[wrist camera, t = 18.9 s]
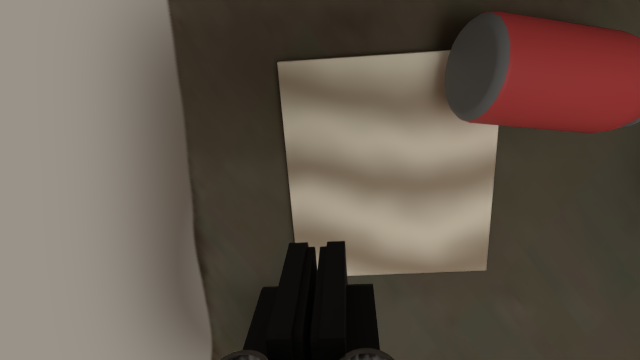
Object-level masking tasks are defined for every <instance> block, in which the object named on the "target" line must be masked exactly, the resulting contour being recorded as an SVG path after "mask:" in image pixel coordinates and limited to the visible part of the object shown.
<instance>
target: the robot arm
mask: <svg viewBox="0 0 640 360" xmlns="http://www.w3.org/2000/svg"><path fill="white" fill-rule="evenodd" d="M220 360H394V359H393V358H392V357H391V356H390V355H388V354H386V353H385V352H383V351H381V350H380V347H379V337H378V328H377V319H376V309H375V300H374V290H373V284H349V285H348V281H347V265H346V248H345V241H329V242H327V246H322V247H320V252H319V260H318V269H317V261H316V251H315V247H309V245H308V242H301V243H289V247H288V250H287V254H286V258H285V262H284V266H283V270H282V274H281V278H280V282H279V286H276V287H263V288H262V290H261V293H260V296H259V300H258V303H257V306H256V309H255V312H254V315H253V319H252V322H251V325H250V328H249V331H248V335H247V338H246V341H245V344H244V347H243V350H240V351H236V352H232V353H230V354H228V355H226V356H224V357H222V358H221V359H220Z"/></svg>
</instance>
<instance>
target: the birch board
mask: <svg viewBox="0 0 640 360" xmlns="http://www.w3.org/2000/svg"><path fill="white" fill-rule="evenodd" d="M450 51H451V50H441V51H426V52H412V53H397V54H382V55H367V56H353V57H338V58H323V59H308V60H294V61H279V62H277V65H278V76H279V86H280V96H281V106H282V116H283V126H284V136H285V146H286V157H287V167H288V177H289V187H290V197H291V207H292V217H293V227H294V238H295V243H301V242H308V245H309V247H315V251H316V261H317V269H318V260H319V252H320V247H322V246H327V242H329V241H345V248H346V265H347V276H353V275H378V274H403V273H428V272H453V271H478V270H486V265H487V253H488V242H489V230H490V218H491V207H492V195H493V184H494V172H495V160H496V149H497V137H498V125H489V124H477V123H469V122H466V121H463V120H461V119H459V118H458V117H457V116H456V115H455V114H454V113H453V111H452V110H451V109H450V106H449V104H448V101H447V99H446V93H445V86H444V84H445V70H446V65H447V60H448V56H449V54H450Z"/></svg>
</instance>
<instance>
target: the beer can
mask: <svg viewBox="0 0 640 360" xmlns="http://www.w3.org/2000/svg"><path fill="white" fill-rule="evenodd" d="M444 86H445V93H446V99H447V101H448V104H449V106H450V109H451V110H452V111H453V113H454V114H455V115H456V116H457V117H458V118H459V119H461V120H463V121H466V122H469V123H477V124H489V125H500V126H512V127H524V128H535V129H547V130H559V131H570V132H582V133H595V132H604V131H609V130H614V129H616V128H621V127H629V126H631V125H634V124H636V123H638V122H640V38H638V37H636V36H634V35H631V34H629V33H626V32H624V31H620V30H613V29H607V28H601V27H594V26H588V25H582V24H575V23H569V22H563V21H557V20H550V19H544V18H538V17H531V16H525V15H519V14H512V13H506V12H500V11H490V12H484V13H481V14H480V15H478V16H477V17H475V18H473V19H472V20H470V21H469V22H468V23H467V25H466V26H465V27H464V28H463V29H462V30H461V32H460V33H459V34H458V36H457V38H456V40H455V42H454V43H453V45H452V48H451V51H450V54H449V56H448V60H447V65H446V70H445V84H444Z"/></svg>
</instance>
